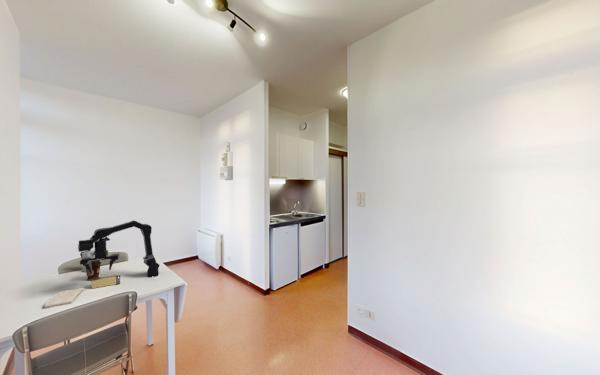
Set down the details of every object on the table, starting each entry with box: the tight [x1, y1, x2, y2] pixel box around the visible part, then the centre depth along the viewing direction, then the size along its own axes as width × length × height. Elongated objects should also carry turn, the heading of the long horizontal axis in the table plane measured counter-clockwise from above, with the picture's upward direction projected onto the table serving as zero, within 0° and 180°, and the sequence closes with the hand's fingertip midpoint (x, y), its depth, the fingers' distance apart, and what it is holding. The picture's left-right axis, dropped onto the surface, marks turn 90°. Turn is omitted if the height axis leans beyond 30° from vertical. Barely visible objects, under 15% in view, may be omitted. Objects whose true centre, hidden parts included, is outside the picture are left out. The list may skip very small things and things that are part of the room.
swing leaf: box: [91, 274, 121, 289], centre depth 150 cm, size 15×3×6 cm, turn 121°
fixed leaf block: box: [94, 274, 118, 280], centre depth 152 cm, size 12×4×5 cm, turn 118°
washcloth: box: [44, 287, 84, 309], centre depth 133 cm, size 12×18×3 cm, turn 29°
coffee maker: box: [80, 250, 95, 273], centre depth 176 cm, size 15×9×18 cm, turn 77°
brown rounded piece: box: [85, 260, 102, 281], centre depth 160 cm, size 9×8×13 cm
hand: (100, 271), depth 145 cm, fingers open, 9 cm apart
